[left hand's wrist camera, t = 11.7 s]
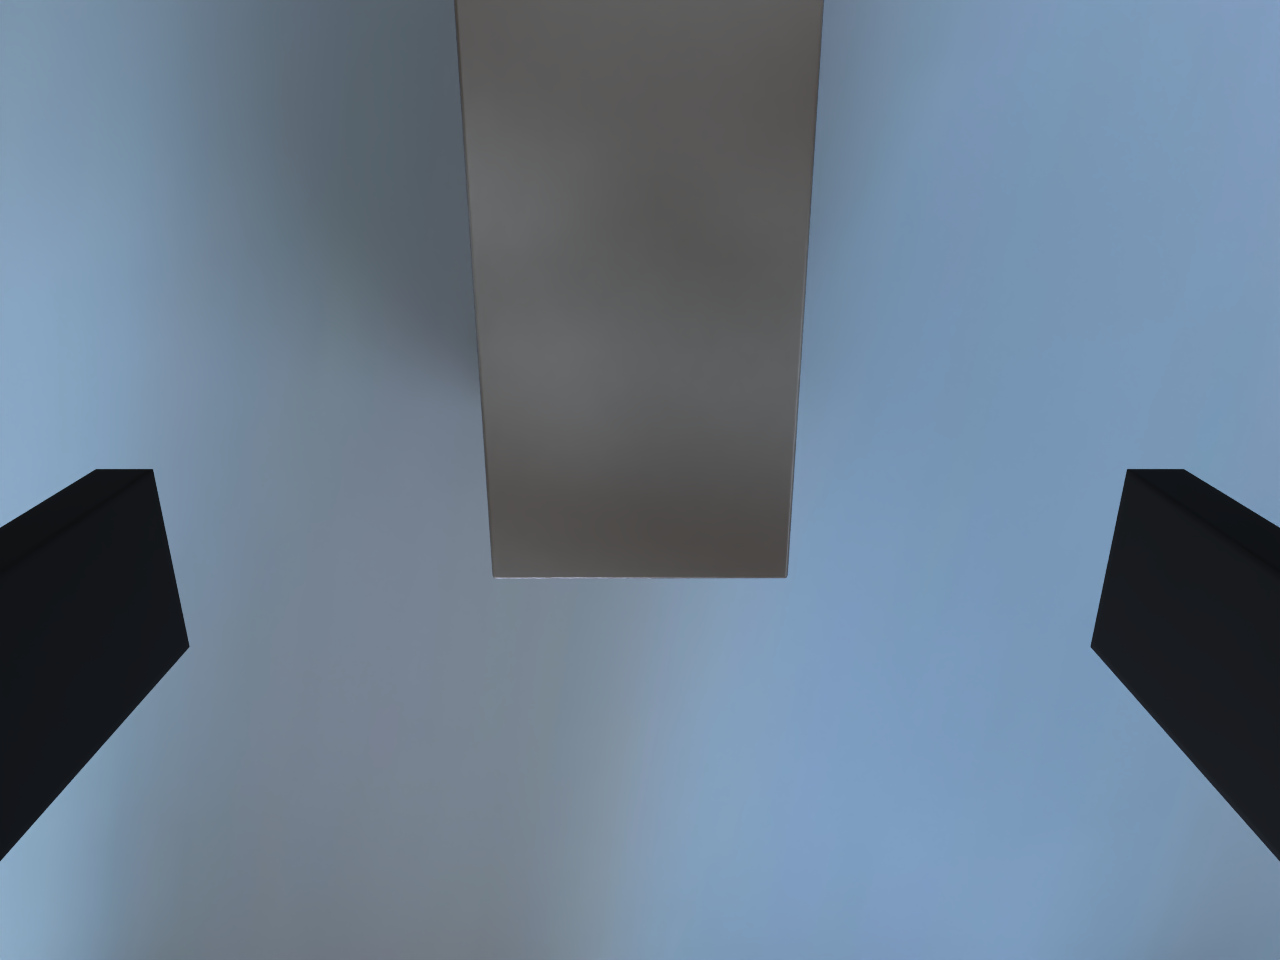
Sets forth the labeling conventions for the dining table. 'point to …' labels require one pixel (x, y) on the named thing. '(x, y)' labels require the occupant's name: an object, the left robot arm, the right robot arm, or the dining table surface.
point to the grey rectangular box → (639, 278)
